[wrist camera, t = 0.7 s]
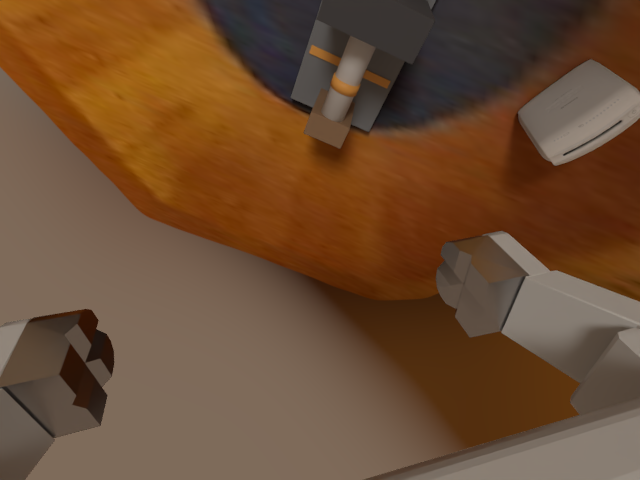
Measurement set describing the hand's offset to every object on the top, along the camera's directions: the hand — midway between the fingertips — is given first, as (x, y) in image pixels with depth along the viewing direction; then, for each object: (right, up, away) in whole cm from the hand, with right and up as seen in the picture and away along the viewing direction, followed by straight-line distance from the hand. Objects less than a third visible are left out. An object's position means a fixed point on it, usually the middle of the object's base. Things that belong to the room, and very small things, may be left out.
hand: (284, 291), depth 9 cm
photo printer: (+32, +20, +39) cm, 54 cm away
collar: (+7, +28, +32) cm, 43 cm away
